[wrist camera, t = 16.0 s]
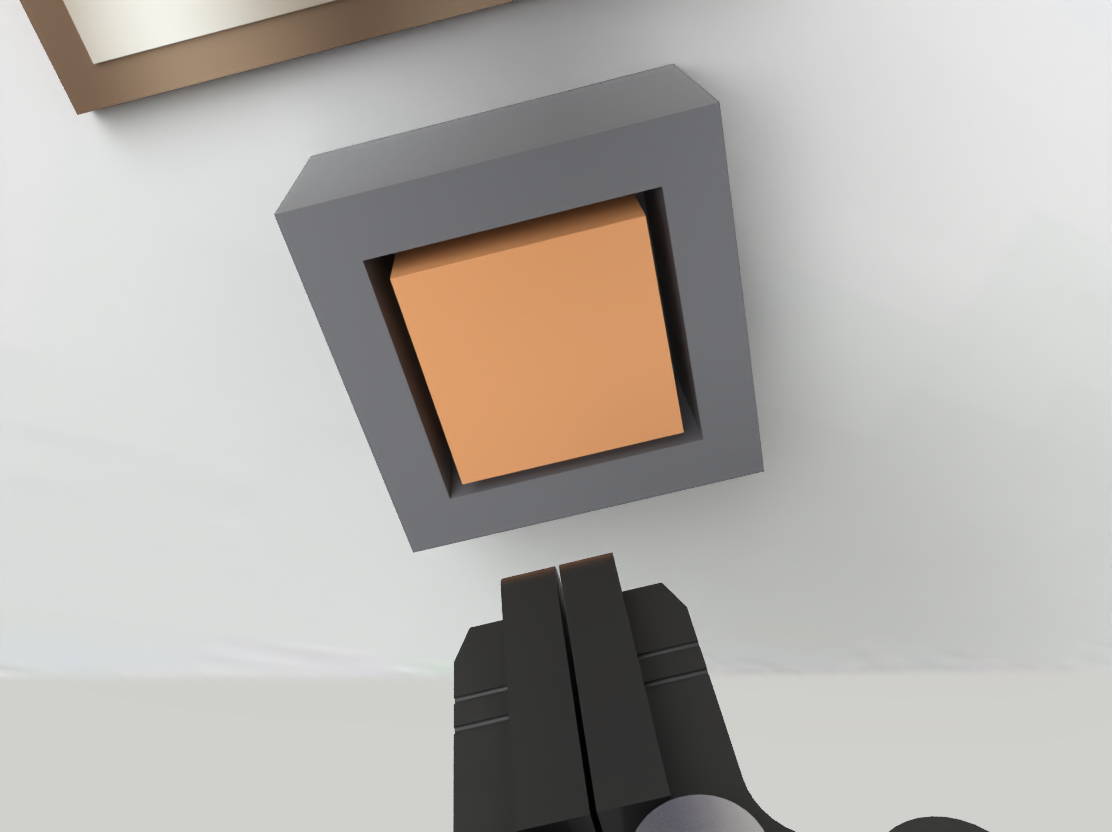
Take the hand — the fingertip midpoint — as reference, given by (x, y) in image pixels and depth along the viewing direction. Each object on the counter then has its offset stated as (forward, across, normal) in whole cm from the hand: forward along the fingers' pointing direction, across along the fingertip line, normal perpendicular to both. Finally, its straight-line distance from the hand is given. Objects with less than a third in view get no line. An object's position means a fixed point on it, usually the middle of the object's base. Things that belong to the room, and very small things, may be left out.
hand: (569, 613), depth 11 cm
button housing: (+11, 0, 0) cm, 11 cm away
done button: (+10, 0, 0) cm, 10 cm away
